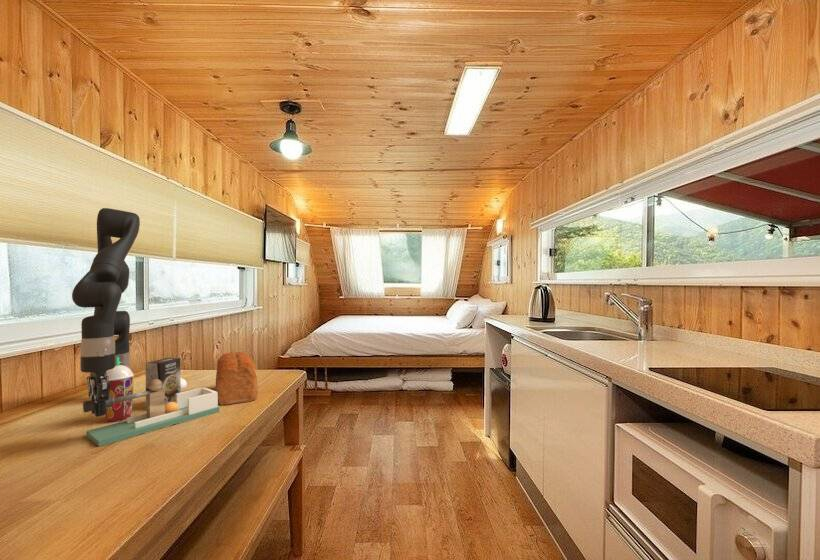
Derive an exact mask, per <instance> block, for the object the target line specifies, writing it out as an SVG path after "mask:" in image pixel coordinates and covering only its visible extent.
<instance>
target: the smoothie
mask: <svg viewBox="0 0 820 560" xmlns="http://www.w3.org/2000/svg"><path fill="white" fill-rule="evenodd" d="M106 373H107V376H109V381H110V382H111V384H110V392H109V396H112V398H117V397H121V396H126V395H131V394H134V383H135V381H134V380H135V373H134V372H133V371H132V369H131V368H128V367H127V366H124V365H119V357H117V365H116V366H115V367H114V368H113V369H110V370H107V371H106ZM132 413H133V399H130V400H126V401H121V402H117V403H113V406H112V407H107V408H106V414H105V415H104V417H105V418H106V419H107V420H106V421H108V422H110V423H111V422H112V423H116V422H122V421H125V420H127V418H128V417H131V414H132Z"/></svg>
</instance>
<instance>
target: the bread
mask: <svg viewBox="0 0 820 560" xmlns="http://www.w3.org/2000/svg"><path fill="white" fill-rule="evenodd" d="M216 368H217V369H216V373H215V375H216V376H215V391H216V392H218V405H220V406H222V405H223V406H225V405H226V406H227V405H234V404H241V403H246V402H252V401H255V400H256V399H257V397H258V394H259V391H258V389H259V384H258V377H257V374H256V365H255V363H254V361H253V359H252V357H251V356H250V355H249V354H248V353H247V352H244V351H238V352H237V351H236V352H227V353H223V354H222V355H221V356H220V357H219V359H218V360H217V361H216Z"/></svg>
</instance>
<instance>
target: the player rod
mask: <svg viewBox="0 0 820 560" xmlns="http://www.w3.org/2000/svg"><path fill="white" fill-rule="evenodd" d="M161 387H162V382H161V381H160V380H159V379H154V380H152V381H150V383H149V384H148V388H149V389H150V390H149V391H146V390H144V391H141V392H136V393H133V394H131V395H126V396H121V397H117V398H112V396H109V400H107V401H106V408H107V407H112V406H113V403H117V402H121V401H126V400H130V399H138V398H143V397H145V409H146V412H145V413H146V418H147V419H149V418H152V417H156V416H160V415H164V414H165V391H164V390H162V389H160V388H161ZM94 401H95V399H93V400H90V399H89V400H85V401H83V402H82V410H83V413H89V412H92V411H94V410H95V402H94Z"/></svg>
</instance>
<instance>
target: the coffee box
mask: <svg viewBox="0 0 820 560" xmlns="http://www.w3.org/2000/svg"><path fill="white" fill-rule="evenodd" d="M180 377H181V358H180V357H164V358H161V359H157V360H152V361H147V362H145V391H149V390H150V389H149V388H148V384H149V383H150V381H152V380H154V379H159V380H160V381H161V382H162V387H161V388H160V389H162V390H164V391H165V405H166V404H167V403H169V402H175V403H176V394H177V393H181V392H182V391H181V390H182V389H181V381H180Z"/></svg>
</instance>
